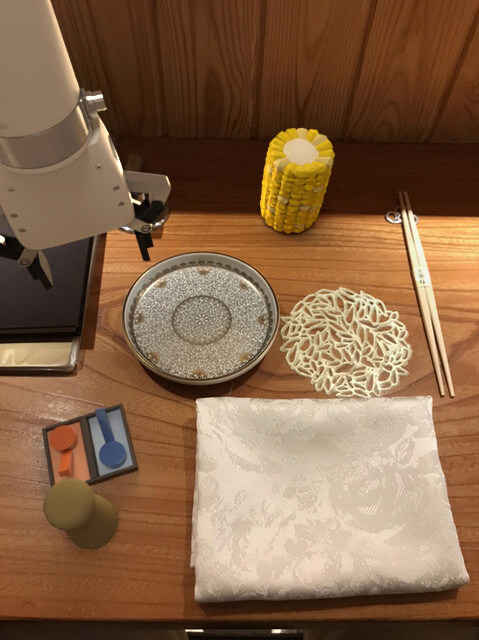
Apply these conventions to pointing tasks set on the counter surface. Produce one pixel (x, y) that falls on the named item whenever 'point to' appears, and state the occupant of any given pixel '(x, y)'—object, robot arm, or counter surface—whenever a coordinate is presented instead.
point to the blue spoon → (110, 443)
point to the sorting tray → (91, 448)
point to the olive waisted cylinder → (81, 513)
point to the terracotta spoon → (64, 447)
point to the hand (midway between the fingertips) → (96, 264)
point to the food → (295, 179)
